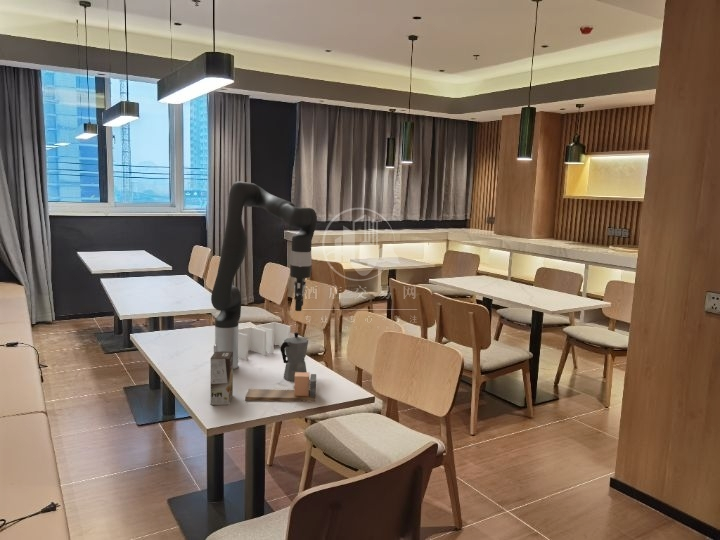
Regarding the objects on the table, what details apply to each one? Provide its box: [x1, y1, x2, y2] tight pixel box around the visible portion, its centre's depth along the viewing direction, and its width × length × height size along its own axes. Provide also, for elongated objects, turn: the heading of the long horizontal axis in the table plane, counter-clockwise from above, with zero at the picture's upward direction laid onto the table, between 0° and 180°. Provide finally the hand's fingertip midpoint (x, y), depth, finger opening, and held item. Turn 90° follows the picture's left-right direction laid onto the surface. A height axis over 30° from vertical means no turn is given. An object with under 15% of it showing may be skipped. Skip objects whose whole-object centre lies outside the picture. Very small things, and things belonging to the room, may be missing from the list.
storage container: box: [238, 321, 291, 361], centre depth 257 cm, size 25×11×11 cm, turn 139°
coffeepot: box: [280, 332, 309, 382], centre depth 222 cm, size 15×9×18 cm, turn 147°
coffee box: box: [209, 351, 234, 406], centre depth 197 cm, size 9×6×16 cm
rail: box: [245, 373, 317, 402], centre depth 202 cm, size 24×8×7 cm, turn 93°
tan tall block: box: [293, 372, 311, 396], centre depth 203 cm, size 5×4×7 cm
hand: (299, 308), depth 208 cm, fingers open, 8 cm apart
